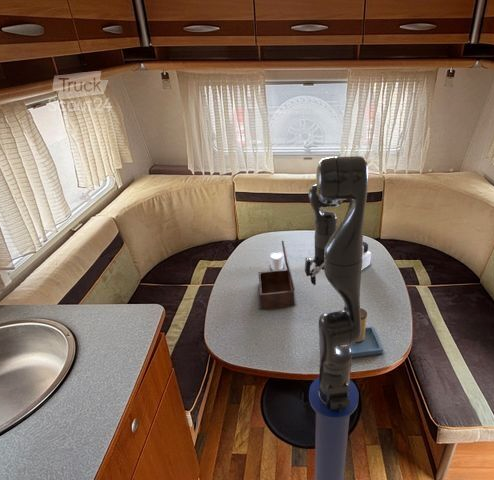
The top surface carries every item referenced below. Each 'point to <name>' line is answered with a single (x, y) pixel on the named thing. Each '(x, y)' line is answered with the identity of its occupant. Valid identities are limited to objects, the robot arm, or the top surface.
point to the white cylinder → (276, 260)
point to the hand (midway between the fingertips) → (326, 282)
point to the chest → (275, 289)
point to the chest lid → (288, 266)
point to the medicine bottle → (365, 256)
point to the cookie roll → (362, 325)
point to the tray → (367, 344)
